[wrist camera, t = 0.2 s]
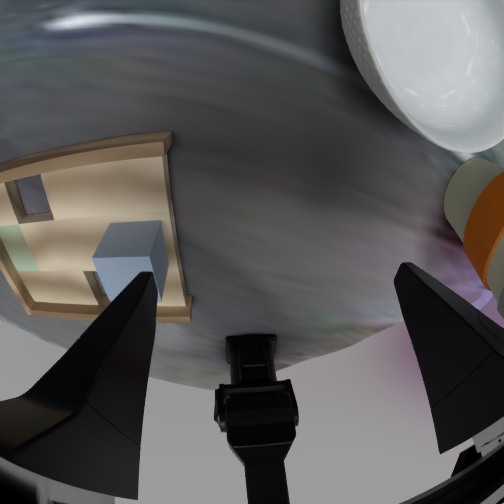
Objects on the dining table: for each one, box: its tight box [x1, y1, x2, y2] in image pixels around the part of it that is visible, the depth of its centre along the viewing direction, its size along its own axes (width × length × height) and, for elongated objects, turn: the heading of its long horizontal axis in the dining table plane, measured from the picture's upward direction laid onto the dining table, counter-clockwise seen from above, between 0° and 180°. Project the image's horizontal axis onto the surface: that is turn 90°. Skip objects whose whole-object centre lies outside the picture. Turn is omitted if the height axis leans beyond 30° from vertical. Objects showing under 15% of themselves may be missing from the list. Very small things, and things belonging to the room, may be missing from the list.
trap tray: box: [0, 131, 193, 323], centre depth 22 cm, size 18×22×3 cm
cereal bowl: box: [340, 0, 504, 153], centre depth 11 cm, size 17×17×7 cm
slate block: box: [92, 220, 169, 302], centre depth 21 cm, size 4×4×4 cm
